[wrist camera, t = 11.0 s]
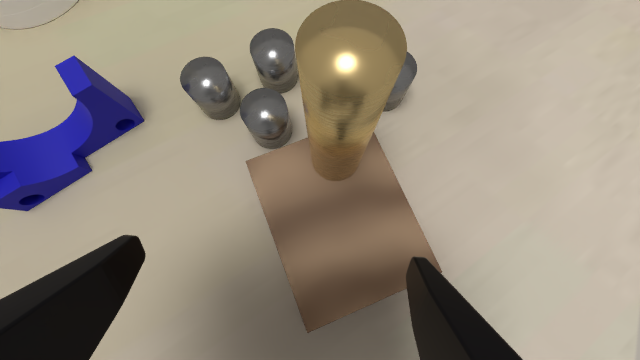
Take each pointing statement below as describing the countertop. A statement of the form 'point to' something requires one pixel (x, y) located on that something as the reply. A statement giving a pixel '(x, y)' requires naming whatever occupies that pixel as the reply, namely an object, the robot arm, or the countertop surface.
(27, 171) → the cable clip
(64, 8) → the cylinder
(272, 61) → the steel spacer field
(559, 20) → the countertop surface
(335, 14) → the cylinder
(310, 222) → the brown wooden board
